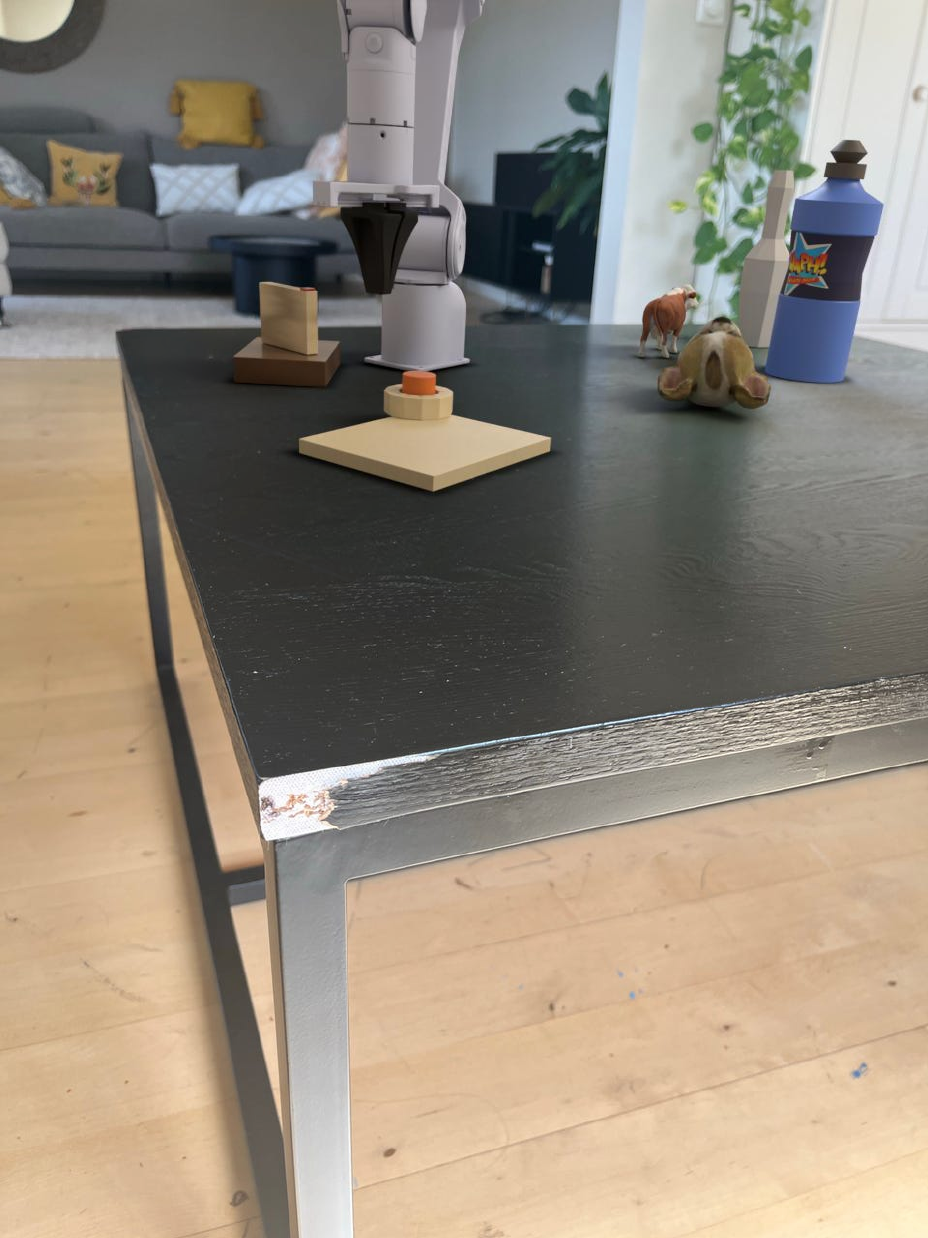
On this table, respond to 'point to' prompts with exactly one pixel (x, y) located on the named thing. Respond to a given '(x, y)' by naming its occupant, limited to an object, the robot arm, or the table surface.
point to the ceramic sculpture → (715, 370)
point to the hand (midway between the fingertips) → (378, 293)
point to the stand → (286, 364)
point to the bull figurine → (667, 318)
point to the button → (418, 383)
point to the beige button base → (424, 443)
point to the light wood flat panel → (289, 317)
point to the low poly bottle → (766, 266)
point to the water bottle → (825, 273)
